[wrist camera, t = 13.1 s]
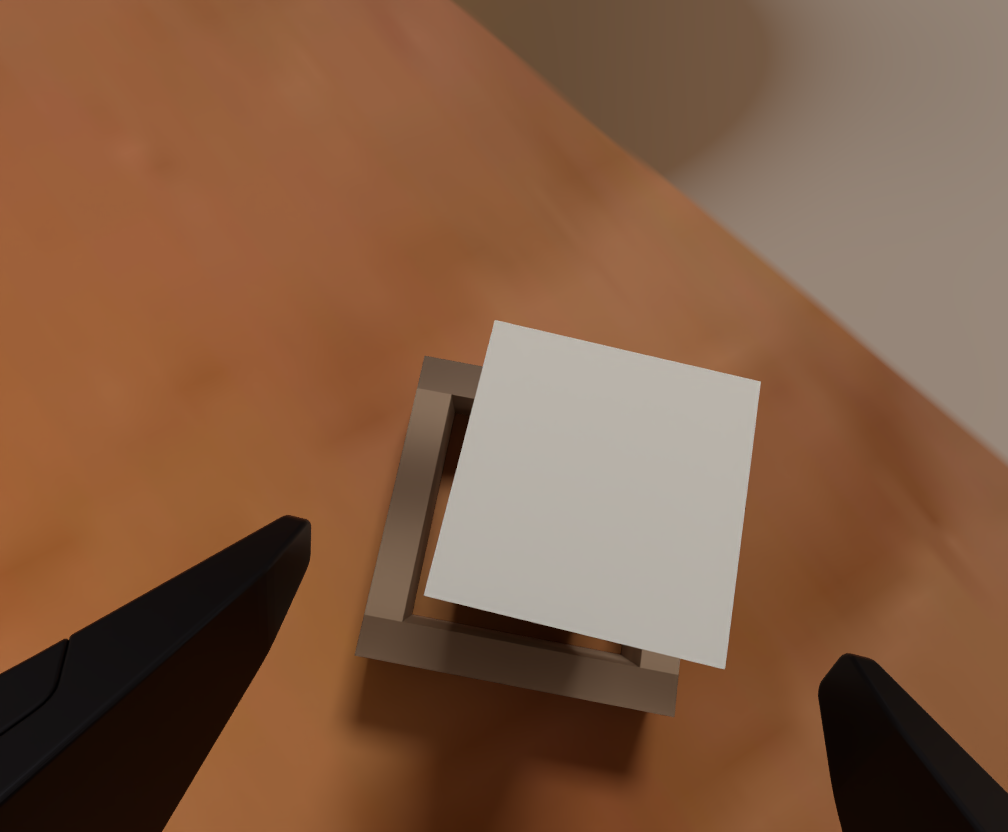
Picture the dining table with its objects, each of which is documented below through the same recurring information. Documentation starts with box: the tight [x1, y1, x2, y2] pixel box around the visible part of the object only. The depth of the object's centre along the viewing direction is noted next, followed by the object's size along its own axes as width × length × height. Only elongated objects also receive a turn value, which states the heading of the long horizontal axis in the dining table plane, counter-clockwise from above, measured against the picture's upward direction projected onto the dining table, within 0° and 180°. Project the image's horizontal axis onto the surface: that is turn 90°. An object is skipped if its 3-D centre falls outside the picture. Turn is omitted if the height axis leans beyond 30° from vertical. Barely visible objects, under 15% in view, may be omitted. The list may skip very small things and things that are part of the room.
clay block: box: [424, 320, 761, 669], centre depth 15 cm, size 4×4×12 cm
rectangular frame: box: [355, 356, 680, 717], centre depth 20 cm, size 10×10×2 cm
